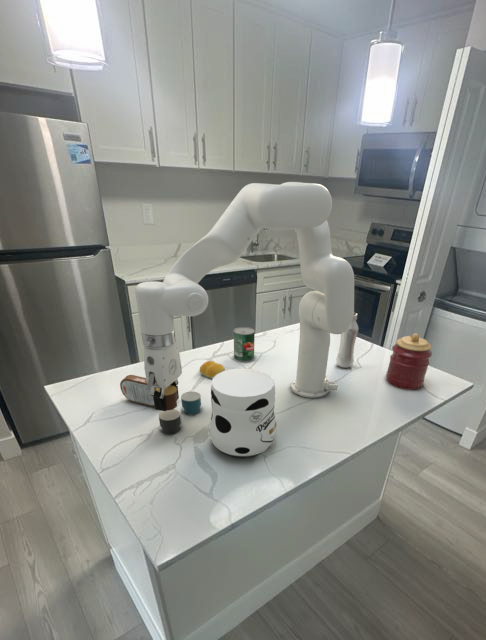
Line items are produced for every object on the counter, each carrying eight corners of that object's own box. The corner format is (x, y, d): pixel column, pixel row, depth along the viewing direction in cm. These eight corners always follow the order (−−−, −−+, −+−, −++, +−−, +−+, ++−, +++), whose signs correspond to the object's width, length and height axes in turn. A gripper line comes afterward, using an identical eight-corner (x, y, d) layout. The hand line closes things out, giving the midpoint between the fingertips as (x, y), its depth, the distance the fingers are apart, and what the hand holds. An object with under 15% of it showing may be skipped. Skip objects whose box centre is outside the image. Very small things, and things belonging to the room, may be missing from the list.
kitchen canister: (409, 394, 125) (423, 344, 116) (377, 380, 133) (388, 332, 124) (429, 383, 133) (444, 335, 123) (398, 370, 141) (409, 324, 131)
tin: (169, 405, 113) (166, 380, 108) (164, 410, 111) (160, 385, 106) (127, 396, 117) (122, 371, 112) (121, 400, 114) (116, 375, 110)
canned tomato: (236, 353, 149) (236, 326, 143) (255, 354, 148) (256, 327, 142) (231, 361, 142) (231, 333, 136) (252, 363, 141) (252, 334, 135)
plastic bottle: (355, 365, 143) (364, 313, 132) (348, 371, 138) (357, 317, 127) (339, 361, 146) (347, 309, 135) (332, 366, 141) (339, 314, 130)
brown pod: (182, 402, 100) (180, 386, 98) (172, 412, 96) (170, 396, 93) (163, 399, 101) (161, 383, 99) (152, 409, 97) (149, 392, 94)
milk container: (284, 457, 94) (289, 394, 84) (216, 468, 90) (212, 403, 80) (266, 421, 108) (268, 363, 98) (206, 428, 104) (201, 369, 94)
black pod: (185, 425, 105) (183, 410, 102) (175, 436, 100) (173, 421, 97) (167, 422, 106) (165, 407, 103) (156, 432, 101) (154, 417, 98)
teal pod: (204, 407, 113) (203, 393, 111) (196, 416, 109) (195, 402, 106) (187, 404, 114) (186, 390, 112) (179, 413, 110) (177, 398, 107)
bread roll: (213, 381, 128) (213, 370, 125) (196, 373, 132) (195, 363, 130) (230, 373, 133) (230, 363, 131) (213, 366, 137) (212, 356, 135)
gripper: (154, 353, 81) (164, 423, 91) (189, 328, 95) (194, 391, 105) (123, 348, 82) (136, 418, 92) (162, 324, 96) (170, 387, 106)
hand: (167, 403), depth 98 cm, fingers closed on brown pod, 5 cm apart
